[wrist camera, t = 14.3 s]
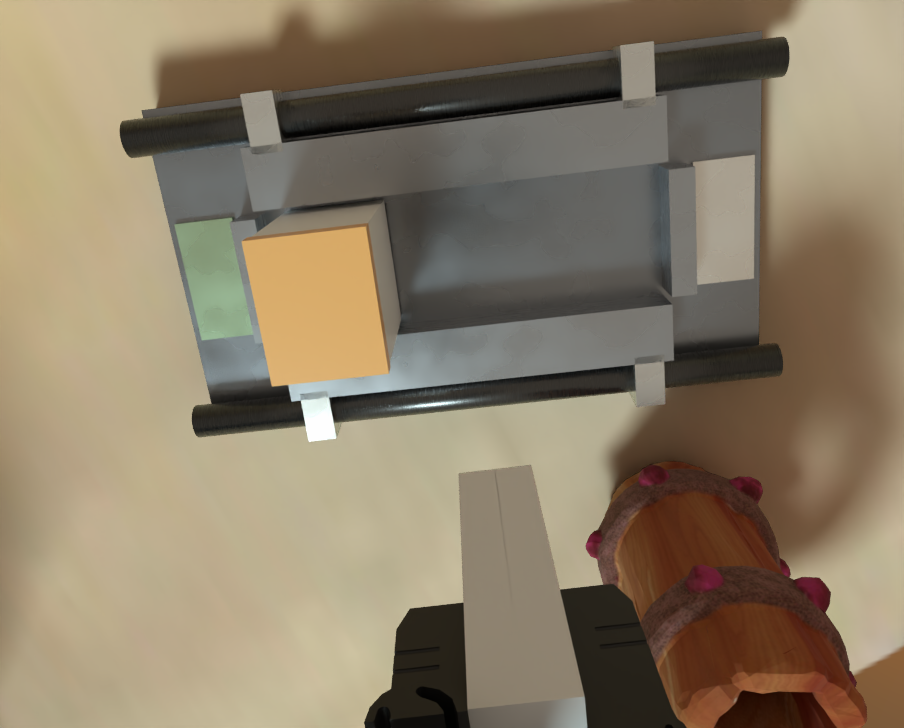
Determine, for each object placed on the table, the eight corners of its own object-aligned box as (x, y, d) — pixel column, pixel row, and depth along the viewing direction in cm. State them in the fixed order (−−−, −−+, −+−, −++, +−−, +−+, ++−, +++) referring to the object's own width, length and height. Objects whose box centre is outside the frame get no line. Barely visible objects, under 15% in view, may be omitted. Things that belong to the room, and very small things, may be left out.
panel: (218, 423, 37) (197, 452, 34) (143, 107, 32) (111, 110, 29) (757, 366, 36) (784, 391, 33) (761, 28, 31) (792, 23, 28)
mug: (555, 467, 38) (610, 699, 24) (720, 405, 36) (883, 609, 22) (653, 694, 42) (750, 1004, 28) (803, 645, 41) (984, 943, 27)
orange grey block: (307, 330, 34) (271, 386, 27) (284, 210, 32) (241, 241, 26) (402, 319, 33) (388, 373, 27) (384, 198, 32) (365, 226, 26)
